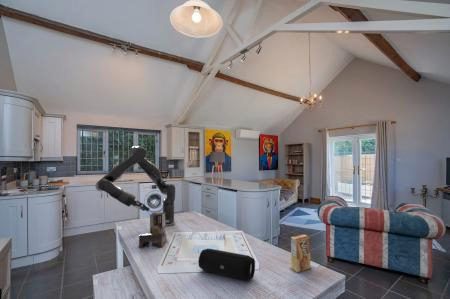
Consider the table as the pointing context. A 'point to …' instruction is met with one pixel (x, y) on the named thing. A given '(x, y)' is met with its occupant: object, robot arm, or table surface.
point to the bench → (152, 239)
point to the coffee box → (157, 223)
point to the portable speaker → (227, 263)
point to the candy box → (300, 253)
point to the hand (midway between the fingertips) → (146, 209)
